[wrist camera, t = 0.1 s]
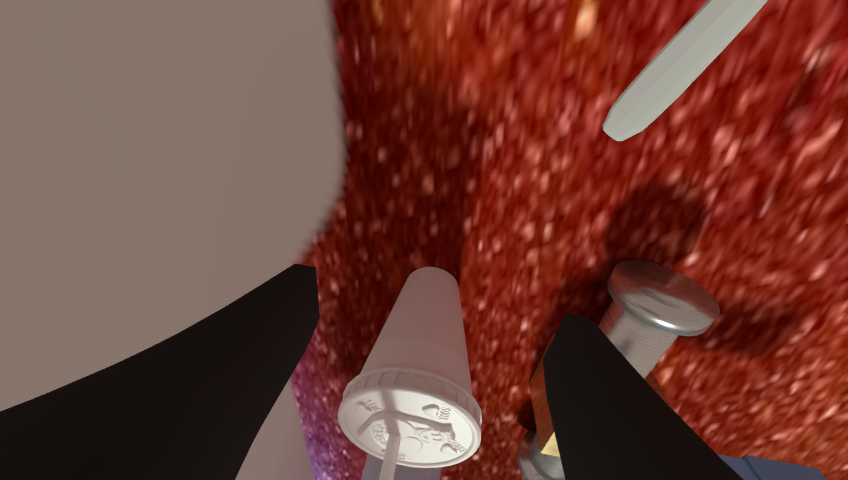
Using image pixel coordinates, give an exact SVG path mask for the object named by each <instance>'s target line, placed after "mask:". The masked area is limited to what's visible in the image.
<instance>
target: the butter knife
mask: <svg viewBox="0 0 848 480" xmlns="http://www.w3.org/2000/svg"><path fill="white" fill-rule="evenodd" d="M766 2H767V0H708V1H707V2H706V3H705V4H704V5H703V6H702V8H701V9H700V10H699V11H698V12H697V13H696V14H695V15H694V16H693V17H692V18H691V19H690V20H689V21H688V22H687V23H686V24H685V25H684V27H683V28H682V29H681V30H680V31H679V32H678V33H677V34H676V35H675V36H674V37H673V38H672V39H671V40H670V41H669V42H668V43H667V44H666V46H665V47H664V48H663V49H662V50H661V51H660V52H659V53H658V54H657V55H656V56H655V57H654V58H653V59H652V61H651V62H650V63H649V64H648V65H647V66H646V67H645V68H644V69H643V70H642V71H641V73H640V74H639V75H638V76H637V77H636V78H635V79H634V81H633V82H632V83H631V84H630V85H629V86H628V87H627V89H626V90H625V91H624V92H623V93H622V94H621V96H620V97H619V98H618V99H617V101H616V102H615V103H614V104H613V106H612V107H611V109H610V111H609V114H608V116H607V118H606V120H605V122H604V124H603V131H604V132H605V133H606V134H608V135H609V136H610V137H612V138H613V139H615V140H616V141H624V140H626V139H627V138H629V137H631V136H633V135H635V134H637V133H639V132H641V131H642V130H644V129H645V128H646V127H647V126H648V125H649V124H650V123H652V122H653V121H654V120H655V119H656V118H657V117H658V116H659V115H660V114H661V113H662V112H663V111H664V110H665V109H666V108H667V107H668V106H670V105H671V104H672V103H673V102H674V101H675V100H676V99H677V98H678V97H679V96H680V95H681V94H682V93H683V92H684V91H685V90H686V88H687V87H688V86H689V85H690V84H691V83H692V82H693V81H694V80H695V79H696V78H697V77H698V76H699V75H700V74H701V73H702V72H703V71H704V70H705V68H706V67H707V66H708V65H709V64H710V63H711V62H712V61H713V60H714V59H715V58H716V57H717V56H718V55H719V54H720V53H721V52H722V51H723V49H724V48H725V47H726V46H727V45H728V44H729V43H730V42H731V41H732V40H733V39H734V38H735V37H736V35H737V34H738V33H739V32H740V31H741V30H742V29H743V28H744V27H745V26H746V25H747V24H748V23H749V21H750V20H751V19H752V18H753V17H754V16H755V15H756V13H757V12H758V11H759V10H760V9H761V8H762V6H763V5H764V4H765V3H766Z"/></svg>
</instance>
